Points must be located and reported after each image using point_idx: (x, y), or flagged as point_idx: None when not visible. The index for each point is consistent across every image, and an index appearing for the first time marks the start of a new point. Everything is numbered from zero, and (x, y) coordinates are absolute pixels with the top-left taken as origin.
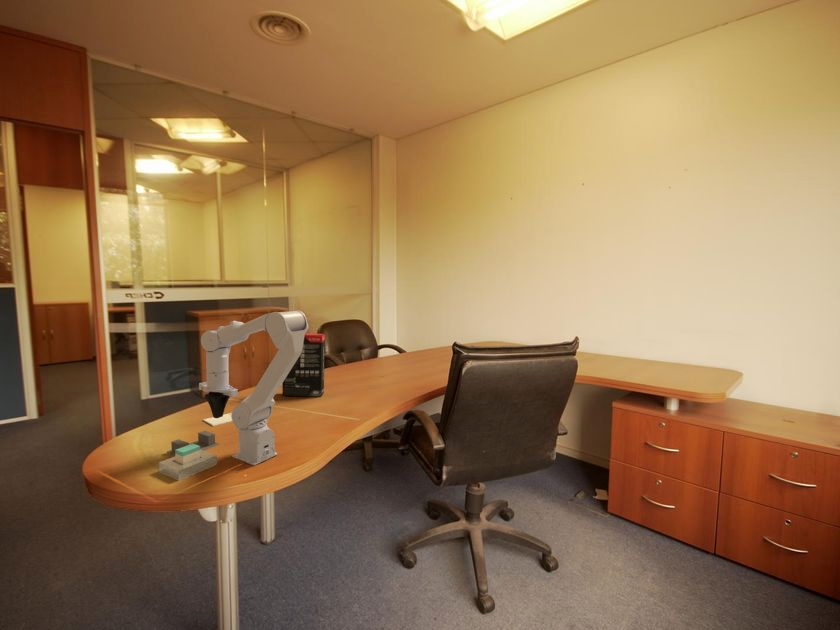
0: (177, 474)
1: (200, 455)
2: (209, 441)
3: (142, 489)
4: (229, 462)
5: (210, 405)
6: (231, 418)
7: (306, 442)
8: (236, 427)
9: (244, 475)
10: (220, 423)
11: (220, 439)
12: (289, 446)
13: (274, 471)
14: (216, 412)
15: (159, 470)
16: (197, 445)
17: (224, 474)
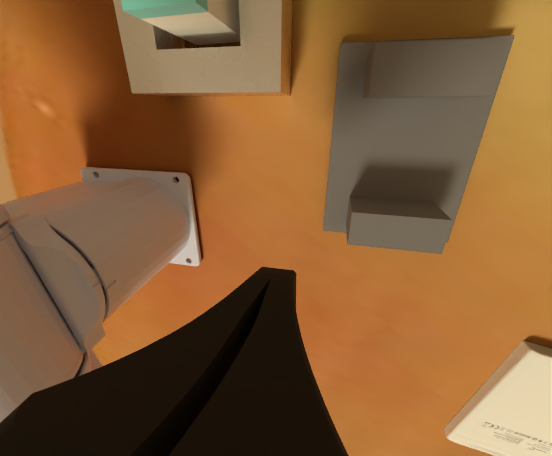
0: None
1: (191, 49)
2: (349, 207)
3: None
4: (163, 144)
5: (279, 338)
6: (500, 414)
7: (133, 333)
8: (36, 214)
9: (44, 105)
10: (509, 371)
11: (377, 268)
12: (140, 302)
13: (23, 172)
14: (233, 293)
15: None
16: (144, 5)
17: (87, 69)
